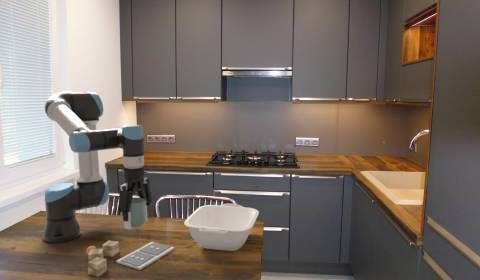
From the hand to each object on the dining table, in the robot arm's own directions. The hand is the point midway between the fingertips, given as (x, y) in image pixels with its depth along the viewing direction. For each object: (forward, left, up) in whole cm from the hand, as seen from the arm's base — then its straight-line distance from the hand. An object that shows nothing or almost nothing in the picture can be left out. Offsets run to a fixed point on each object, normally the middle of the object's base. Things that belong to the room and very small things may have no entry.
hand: (136, 224), depth 137 cm
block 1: (-13, -8, -15) cm, 21 cm away
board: (0, +5, -15) cm, 15 cm away
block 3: (-14, 0, -15) cm, 20 cm away
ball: (-19, -5, -15) cm, 25 cm away
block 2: (-6, -13, -10) cm, 18 cm away
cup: (0, 0, -1) cm, 1 cm away
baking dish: (+21, +30, -15) cm, 39 cm away
